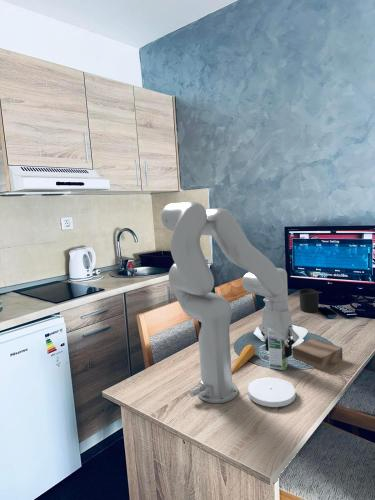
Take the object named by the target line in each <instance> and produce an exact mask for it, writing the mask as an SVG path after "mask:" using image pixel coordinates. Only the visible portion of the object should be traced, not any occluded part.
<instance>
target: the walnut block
mask: <svg viewBox="0 0 375 500" xmlns="http://www.w3.org/2000/svg"><path fill="white" fill-rule="evenodd" d="M293 358H294V359H296V360H299V361H302V362H304V363H306V364H308V365H311V366H313V367H314V368H313V369H316V370H318V371H320V372H323V371H324V370H327V369H329V368H330V367H333V366H335V365H337V364H339V363H340V362H342V361H343V347H341V346H338V345H335V344H332V343H329V342H325V341H323V340H319V339H317V338H311V339H309V340H306V341H304V342H302V343H299V344H297V345H294V346H292V359H293ZM308 365H307V366H308Z"/></svg>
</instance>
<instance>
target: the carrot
mask: <svg viewBox="0 0 375 500" xmlns="http://www.w3.org/2000/svg"><path fill="white" fill-rule="evenodd" d="M255 354H256V347H255V346H254V345H252V344H247V345H245V347H244V348H243V349H242V351H241V353H240V354H239V356H238V357H237V359H236V361H235V363H234V365H233V367H231V371H232V374H234V373H235V372H236V371H238V370H239V369H240V368H241V367H242V366H243V365H244V364H245V363H246V362H248V361H249V360H250V359H251V358H252V357H253V356H254V355H255Z"/></svg>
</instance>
